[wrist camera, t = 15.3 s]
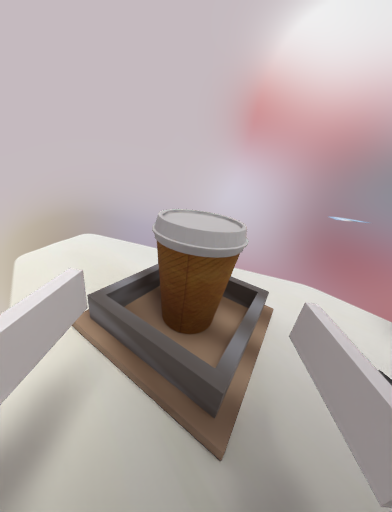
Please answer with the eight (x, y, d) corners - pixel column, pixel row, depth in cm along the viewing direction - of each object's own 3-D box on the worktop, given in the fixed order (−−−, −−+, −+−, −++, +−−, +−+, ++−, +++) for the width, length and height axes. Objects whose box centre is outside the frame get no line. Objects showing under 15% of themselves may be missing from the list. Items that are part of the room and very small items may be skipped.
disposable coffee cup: (184, 284, 28) (195, 207, 24) (238, 316, 23) (266, 226, 19) (131, 312, 21) (131, 209, 17) (192, 366, 16) (217, 242, 12)
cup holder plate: (174, 270, 34) (176, 250, 33) (271, 314, 26) (280, 291, 25) (72, 325, 20) (66, 295, 18) (220, 461, 12) (235, 429, 10)
